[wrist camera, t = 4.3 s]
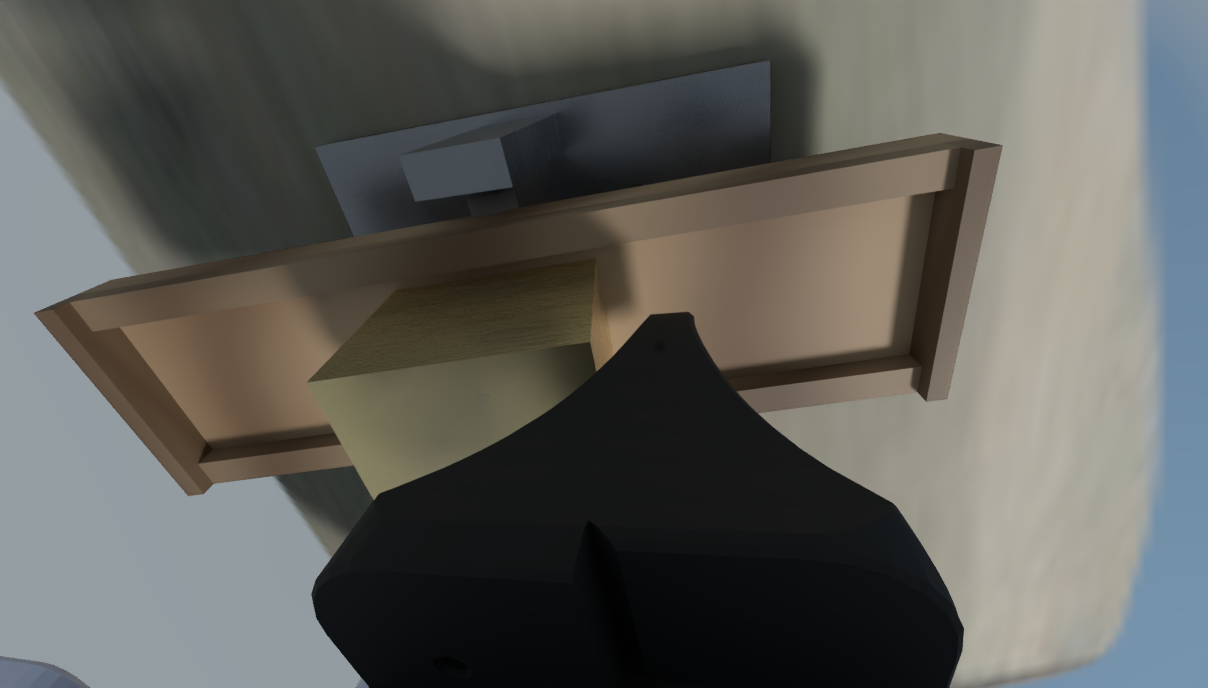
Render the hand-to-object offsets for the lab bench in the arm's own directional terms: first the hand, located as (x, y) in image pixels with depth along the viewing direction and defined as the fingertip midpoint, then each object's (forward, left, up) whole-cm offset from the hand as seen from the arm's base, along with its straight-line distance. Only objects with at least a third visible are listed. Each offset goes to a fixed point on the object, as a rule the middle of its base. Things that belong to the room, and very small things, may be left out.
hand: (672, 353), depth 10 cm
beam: (0, +4, -3) cm, 5 cm away
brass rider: (0, +4, -1) cm, 4 cm away
